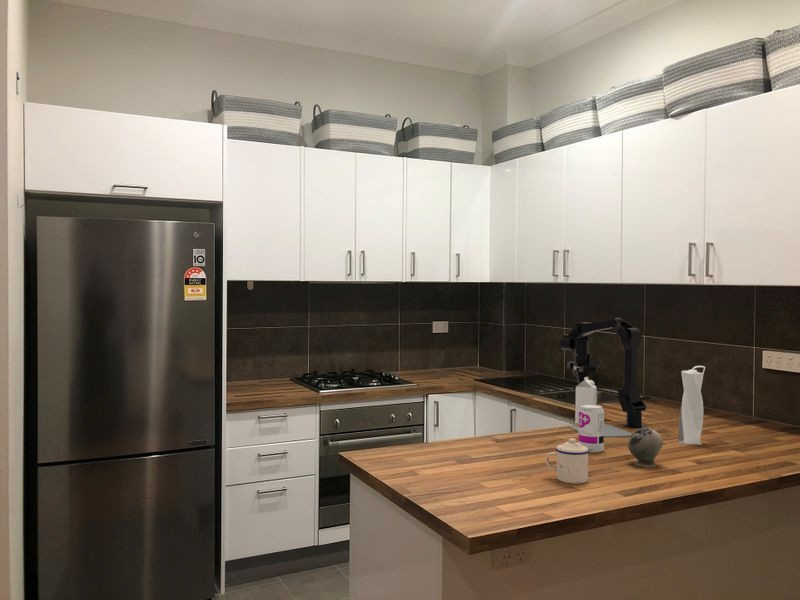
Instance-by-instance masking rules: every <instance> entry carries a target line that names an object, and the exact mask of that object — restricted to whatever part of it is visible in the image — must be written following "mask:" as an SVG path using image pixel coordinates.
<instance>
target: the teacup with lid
mask: <svg viewBox="0 0 800 600" xmlns="http://www.w3.org/2000/svg"><path fill="white" fill-rule="evenodd" d="M555 451H556V452H555ZM555 451H551V452H548V453H547V454H546V456H545V462H546V465H547V466H548V468H549V469H551V470H554V471H556V479H557V481H559V482H561V483H566V484H576V485H577V484H584V483H587V482H589V453H590V452H589V450H588V448H587V447H585V446H582V445H581V444H579V442H577V439H576V438H574V437H572V438H568V441H566V442H564V443H561V444H558V445H557V446H556V448H555ZM550 456H556V466H554V465H552V464H551V463H550V461H549V460H550V459H549V457H550Z"/></svg>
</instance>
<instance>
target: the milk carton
mask: <svg viewBox="0 0 800 600" xmlns="http://www.w3.org/2000/svg"><path fill="white" fill-rule="evenodd" d="M595 384H596V383H595V382H594V380H592V379H589V376H586V377H585V378H584V381H583V382H581V383H580V384H579V383H578V384H577V385H576V386H575V411H574V412H575V415H574V417H575V418H574V421H575V424H579V409H580V407H581V405H597V386H596V385H595Z"/></svg>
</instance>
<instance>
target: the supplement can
mask: <svg viewBox="0 0 800 600" xmlns="http://www.w3.org/2000/svg"><path fill="white" fill-rule="evenodd" d="M578 425H579V432H578V443H579V444H581V445H582V446H585V447H587V448H588V450H589V452H588V453H593V454H595V453H596V454H597V453H602V452H603V451H604V450H605V437H604V425H605V411H604V408H603V406H601V405H597V404H596V405H581V407H580V409H579V423H578Z"/></svg>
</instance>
